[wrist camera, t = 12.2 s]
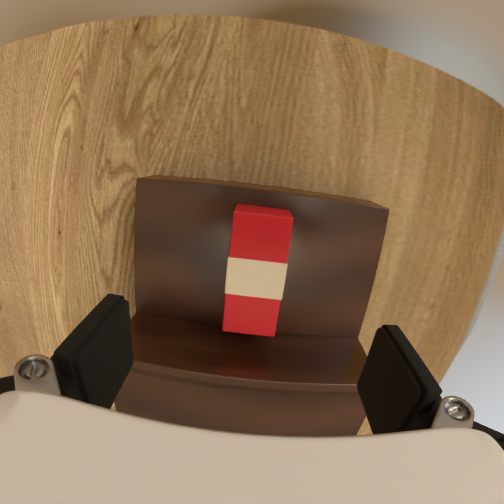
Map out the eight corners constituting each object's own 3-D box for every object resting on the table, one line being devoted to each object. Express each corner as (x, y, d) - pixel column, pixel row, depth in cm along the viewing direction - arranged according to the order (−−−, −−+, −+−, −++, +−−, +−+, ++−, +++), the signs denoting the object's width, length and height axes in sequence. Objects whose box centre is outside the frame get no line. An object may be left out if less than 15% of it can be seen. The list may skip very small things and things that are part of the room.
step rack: (154, 175, 24) (94, 186, 14) (371, 201, 24) (430, 227, 15) (154, 377, 30) (125, 445, 20) (321, 396, 30) (337, 468, 21)
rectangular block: (236, 203, 21) (232, 210, 18) (289, 209, 21) (294, 218, 18) (225, 310, 23) (220, 331, 20) (273, 316, 23) (275, 337, 20)
